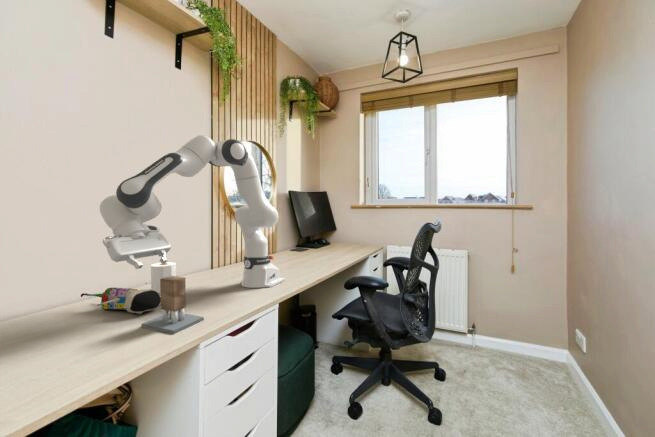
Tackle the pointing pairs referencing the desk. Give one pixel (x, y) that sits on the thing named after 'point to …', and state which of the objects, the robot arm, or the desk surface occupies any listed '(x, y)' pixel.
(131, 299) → the toy
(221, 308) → the desk surface
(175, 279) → the block
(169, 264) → the toilet paper
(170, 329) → the stand
